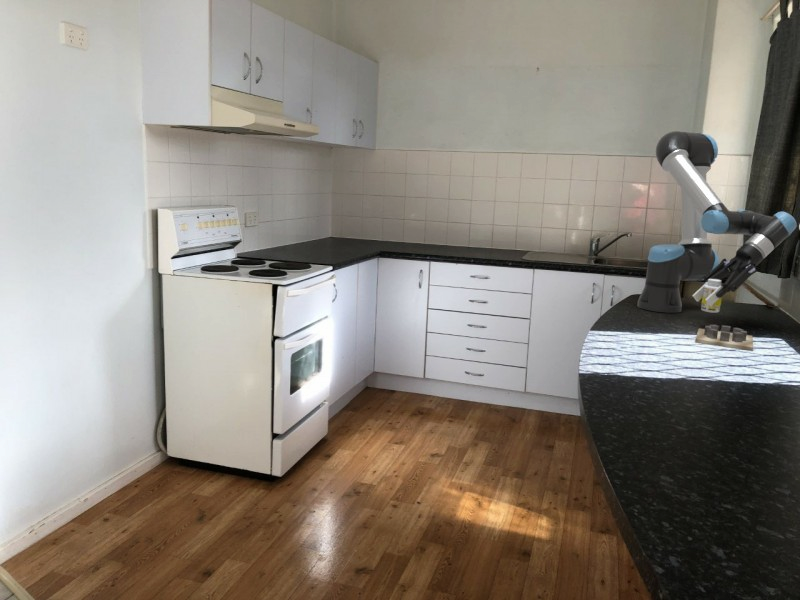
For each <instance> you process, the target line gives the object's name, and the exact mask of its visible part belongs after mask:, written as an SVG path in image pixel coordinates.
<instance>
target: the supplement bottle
mask: <svg viewBox="0 0 800 600" xmlns="http://www.w3.org/2000/svg"><path fill="white" fill-rule="evenodd" d="M707 284H708V285H705V286H704V291H703V297H702V299H701V305H700V309H701V311H703V312H707V313H712V314H713V313H715V314H716V313H719V312H720V311H721V305H722V298H723V296H722V297H721V298H719V299H718V300H717V301H716V302H715V303H714V304H713V305H712V306H709V305H708V303H707V302H706V300H705V299H706V298H707V297H708V296H710V295H711V294H712V293H713V292H714V291H715V290H716V289H717V288H718V287H719V286H722V280H717V279H708V282H707Z"/></svg>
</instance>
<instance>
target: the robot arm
mask: <svg viewBox="0 0 800 600" xmlns="http://www.w3.org/2000/svg"><path fill="white" fill-rule="evenodd" d="M718 154H719V147H718V144H717V142H716V140H715V139H714V137H712V136H711V135H710V134H709V135H708V134H704V133H701V132H687V131H676V130H675V131H670V132H668V133H665V134H664V135H663V136H661V138H660V139H659V140H658V142H657V143H656V146H655V156H656V157H655V158H656V160H657V162H658V163H659V165H660V167H661V168H662V169H663V171H665V172H669V174H670V176H671V177H672V178H673V179H674V180H675V182H676V183H677V184H678V186H679V188H680V199H681V200H680V202H681V205H680V206H681V210H680V211H681V214H680V215H681V217H680V218H681V240H680V241H679V242H678V243H677V244H675V243H674V244H673V243H672V244H671V243H666V244H664V243H663V244H658V245H657V244H656V245H654V246H652V247H650V249H649V252H648V253H649V254H648V256H647V266H646V274H645V275H646V276H645V281H644V282H645V284H644V288H643V289H642V291H641V293H640V296H639V298H638V300H637V304H636V305H637V307H638V308H639V309H642V310H646V311H651V312H659V313H666V314H667V313H669V314H670V313H671V314H674V313H675V314H677V313H681V312H682V309H683V304H682V299H681V294H680V284H681V281H693V282H694V281H695V282H699V281H704V283H703V285H701V286H700V287H699V289H697V290H696V291H695V293H692V297H693V298H694V300H695V301H696V302H698V303H699V302H700V301H702V297H703V291H704V286H705V285H708V284H707V282H708V279H717V280H721V281H722V280H723V279H725V278H726V277H728V278H727V279H726V281H725V282H724V283H721V286H719V287H718V288H717V289H716V290H715V291H714V292H713V293H712V294H711V295H710V296H708V297H707V298H706V299H705V300H706V302H707V303H708V305H709V306H712V305H713V304H714V303H715V302H716V301H717V300H718V299H719V298H721V297H722V298H723V296H724V295H725V294H726V293H729V292H732V293H734V292H736V291H737V290H738V289H739V288H740V287H741V286H742V285H743V284H744V283H745V282H746V281H747V280H748V279H749V278H750V277H752V276H753V275H754V274H756V272H757V269H756V267H757V266H758V265H759V264H760V263H761V262H762V261H763V260H764V259H765V258H766V257H767V256H768V255H769V254H771V252H772V251H774V250H775V249H776V248H777V247H778V246H779V245H780V244H781V243H782V242H783V241H785V240H786V239H787V238H788V237H789V236H791V234H792V233H793V232H794V231H795V230H796V228H797V221H796V219H795V218H794V216H792V215H791V214H790V213H788V212H786V211H777V213H775V214H773V216H770V215H765V214H761V213H759V212H754V211H753V210H750V209H749V210H746V209H738V210H737V211H736V210H735V211H734V210H733V211H732V210H729V209H728V208H727V206H726V205H725V204H724V203H723V202H722V201H721V199H720V198H719V196H718V195H717V193H716V192H715V191H714V190H713V189H712V187H711V185H709V183H708V182H707V174H708V172H709V171H711V168H712V164H714V163H715V161H716V159H717V157H718ZM708 234H713V235H744V236H745V235H746V236H751V237H749V238H748V239H747V240H746V241H745V243H744V244H742V245H741V246H739V248H738V249H737V250H736V251H735V256H734V257H733V258H732V257H731V259H730V260H727V259H726V258H723V259H722V260H721V261H720V258H719V254H718V253H717V251H715V250H714V249H713V248H712V247H713V246H712V245H713V244H712V242H711V241H710V240H709V239H708Z"/></svg>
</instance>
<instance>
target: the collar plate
mask: <svg viewBox="0 0 800 600" xmlns="http://www.w3.org/2000/svg"><path fill="white" fill-rule="evenodd" d="M719 327H720V325H717V324H708V325H705V327H704V328H698V330H697V333H696V336H695V341H694V342H695V343H698V344H705V345H710V346H711V345H712V346H717V345H718V347H723V348H724V347H725V348H731V349H739V350H745V351H754V340H753V339H754V338H753V335H749V334H748V331H746V330H744V329H742V328H739V327H733V328H732V327H731V326H730V325H721V329H720V331H719ZM731 328H732V332H731Z"/></svg>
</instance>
